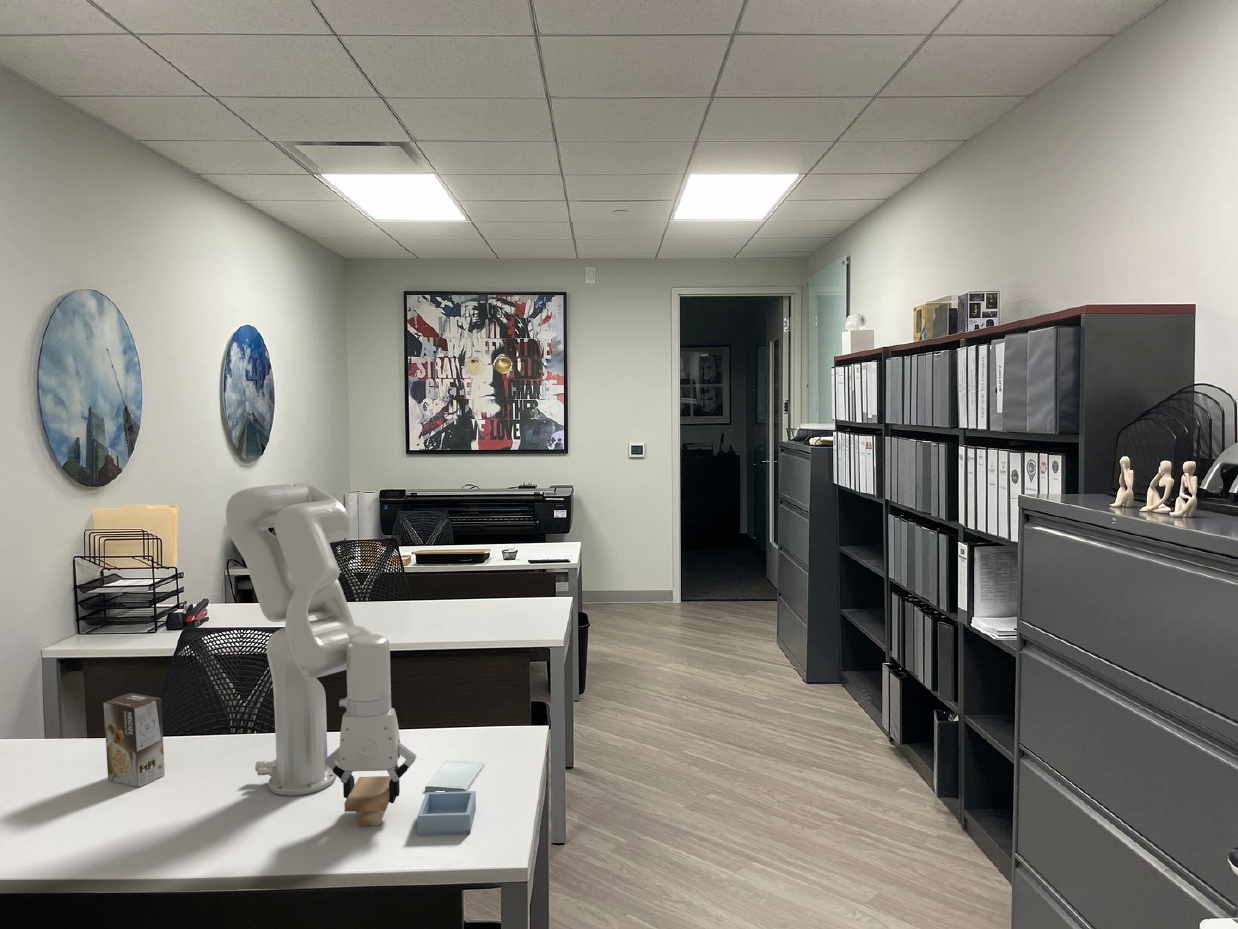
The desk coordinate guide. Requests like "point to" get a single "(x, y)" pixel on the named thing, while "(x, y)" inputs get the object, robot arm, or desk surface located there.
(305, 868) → the desk surface
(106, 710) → the coffee box
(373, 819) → the wooden block
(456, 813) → the light blue open tray
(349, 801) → the lid
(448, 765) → the hard drive
